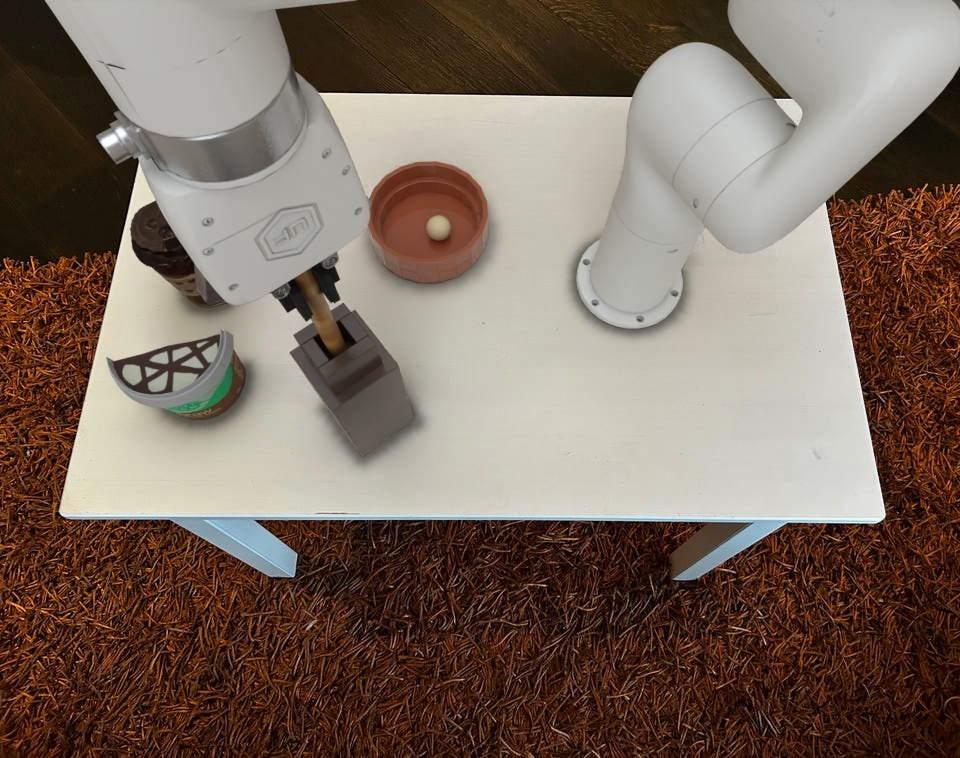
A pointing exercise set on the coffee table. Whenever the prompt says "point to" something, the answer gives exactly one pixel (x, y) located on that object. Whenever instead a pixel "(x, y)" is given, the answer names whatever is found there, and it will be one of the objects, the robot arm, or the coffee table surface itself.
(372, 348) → the holder
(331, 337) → the stick
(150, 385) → the food container
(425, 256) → the bowl
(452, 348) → the coffee table surface
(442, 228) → the dough ball
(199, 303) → the coffee cup
